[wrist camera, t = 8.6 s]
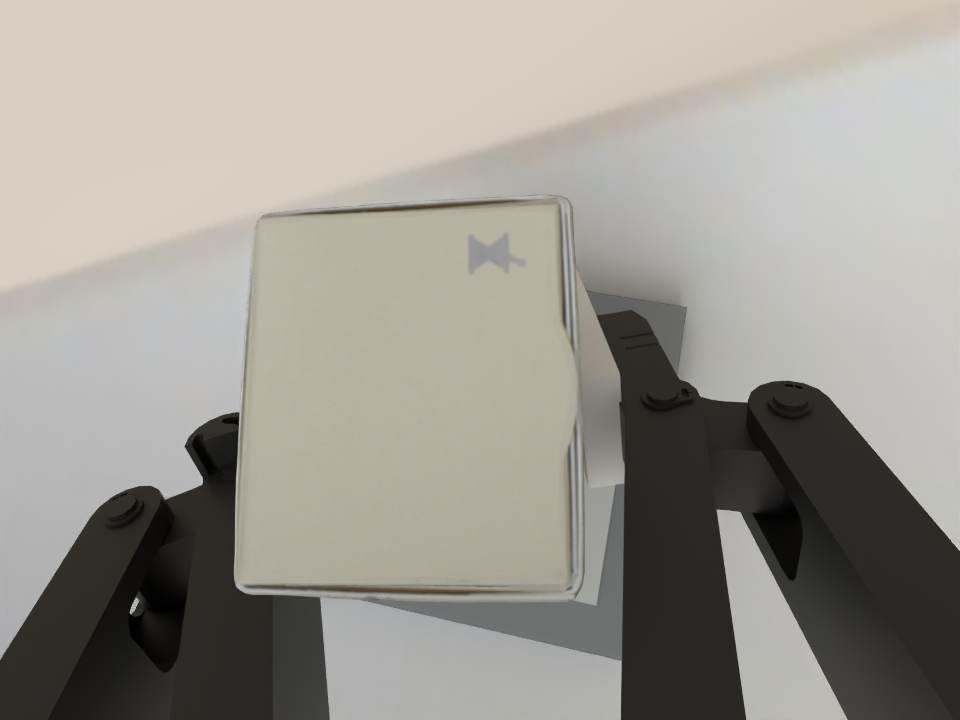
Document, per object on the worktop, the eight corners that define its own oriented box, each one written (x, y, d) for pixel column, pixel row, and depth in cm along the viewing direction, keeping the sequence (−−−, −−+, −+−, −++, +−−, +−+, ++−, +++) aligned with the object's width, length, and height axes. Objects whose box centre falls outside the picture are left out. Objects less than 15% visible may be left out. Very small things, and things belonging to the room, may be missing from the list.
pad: (293, 577, 22) (282, 582, 21) (368, 262, 24) (362, 254, 23) (631, 657, 20) (635, 665, 20) (681, 313, 23) (687, 306, 22)
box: (421, 363, 21) (241, 182, 8) (552, 360, 20) (576, 166, 8) (419, 525, 20) (211, 604, 7) (557, 525, 19) (594, 609, 7)
